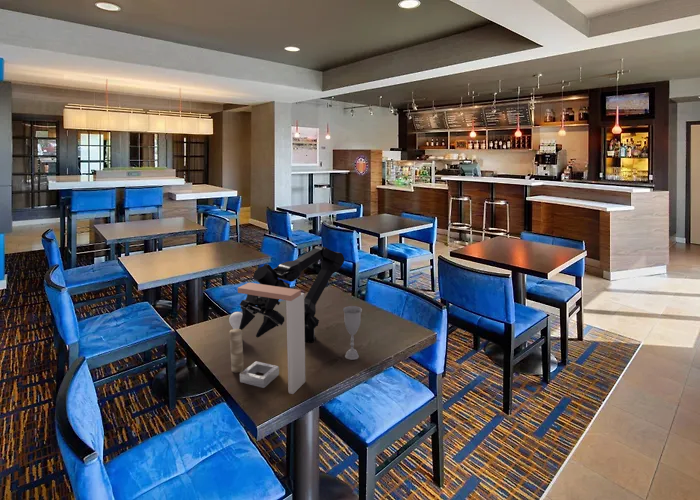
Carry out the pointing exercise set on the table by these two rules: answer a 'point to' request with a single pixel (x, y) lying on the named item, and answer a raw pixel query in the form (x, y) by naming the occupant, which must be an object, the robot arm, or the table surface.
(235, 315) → the lightbulb
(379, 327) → the table surface
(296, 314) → the inverted l-shaped panel
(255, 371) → the socket
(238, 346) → the peg
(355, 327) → the chalice
